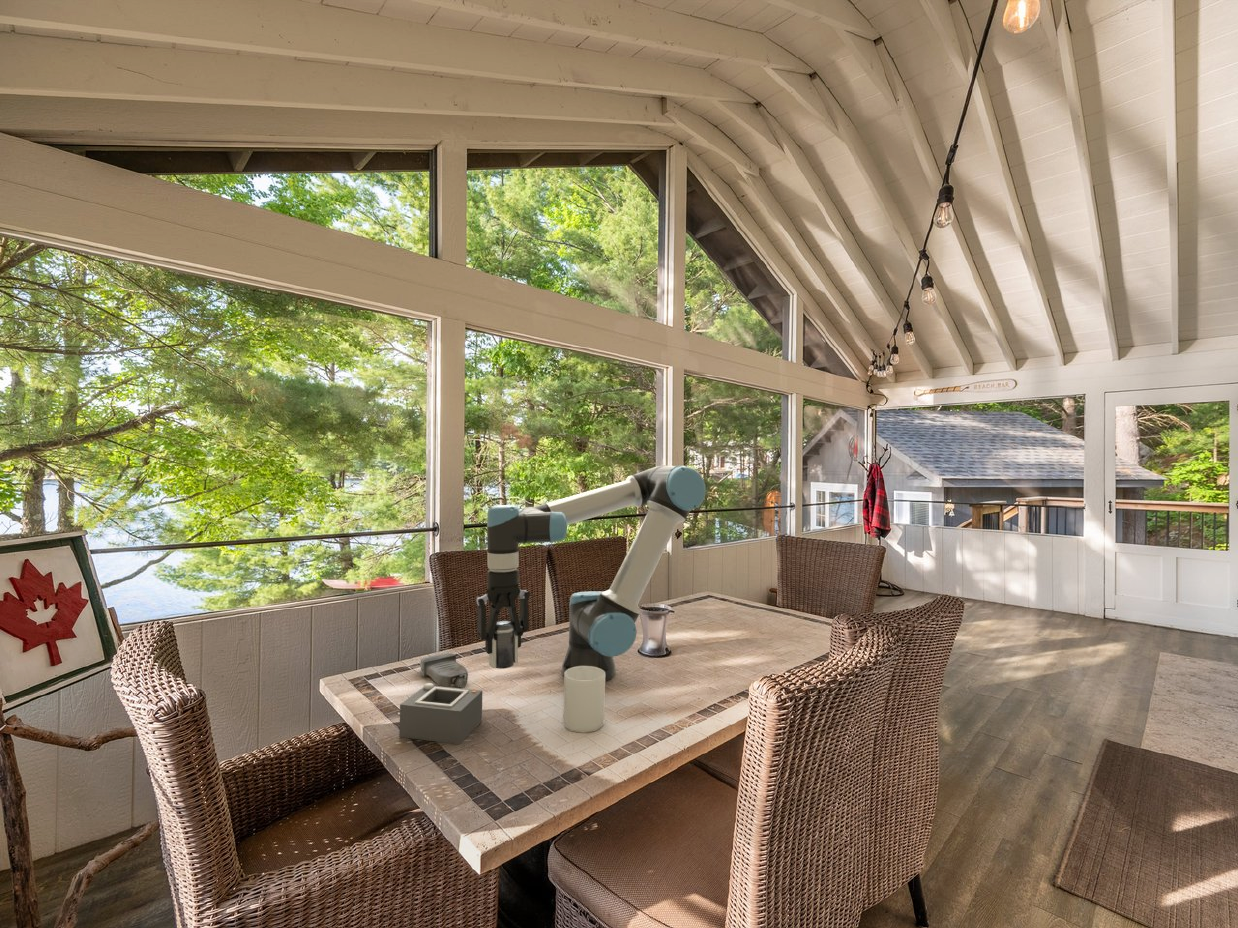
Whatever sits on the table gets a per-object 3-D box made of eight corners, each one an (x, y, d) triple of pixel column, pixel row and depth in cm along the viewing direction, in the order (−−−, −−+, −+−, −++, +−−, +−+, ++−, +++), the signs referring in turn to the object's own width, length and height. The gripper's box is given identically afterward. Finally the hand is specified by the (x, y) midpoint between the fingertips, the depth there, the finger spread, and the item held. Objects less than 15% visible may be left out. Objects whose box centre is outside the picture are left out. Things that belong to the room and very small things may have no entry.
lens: (517, 661, 140) (517, 620, 140) (509, 669, 135) (509, 626, 135) (497, 660, 141) (497, 619, 141) (489, 667, 136) (489, 625, 136)
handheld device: (445, 696, 143) (445, 677, 143) (415, 673, 159) (415, 656, 159) (480, 686, 150) (480, 669, 150) (448, 665, 165) (448, 649, 165)
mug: (588, 737, 123) (589, 684, 123) (546, 723, 129) (547, 672, 129) (612, 721, 131) (613, 671, 131) (571, 708, 137) (572, 660, 137)
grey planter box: (481, 720, 130) (482, 687, 130) (459, 744, 119) (460, 707, 119) (425, 714, 132) (426, 681, 132) (399, 736, 121) (400, 700, 121)
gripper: (530, 562, 146) (530, 651, 146) (461, 570, 136) (462, 666, 136) (543, 567, 140) (543, 660, 140) (472, 575, 130) (473, 676, 130)
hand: (503, 663), depth 138 cm, fingers closed on lens, 5 cm apart
